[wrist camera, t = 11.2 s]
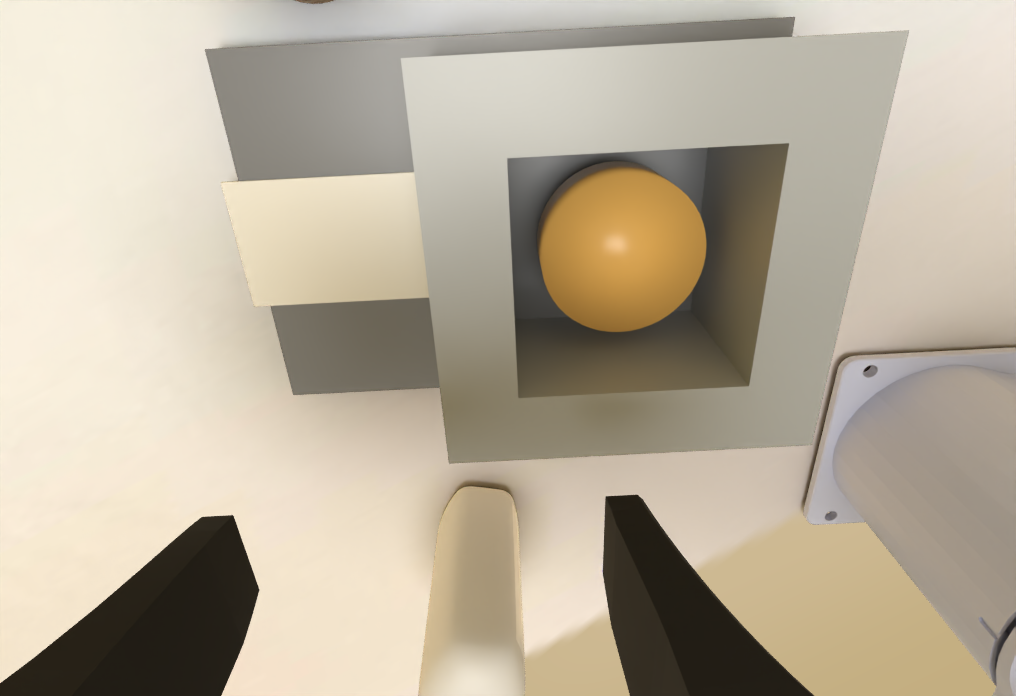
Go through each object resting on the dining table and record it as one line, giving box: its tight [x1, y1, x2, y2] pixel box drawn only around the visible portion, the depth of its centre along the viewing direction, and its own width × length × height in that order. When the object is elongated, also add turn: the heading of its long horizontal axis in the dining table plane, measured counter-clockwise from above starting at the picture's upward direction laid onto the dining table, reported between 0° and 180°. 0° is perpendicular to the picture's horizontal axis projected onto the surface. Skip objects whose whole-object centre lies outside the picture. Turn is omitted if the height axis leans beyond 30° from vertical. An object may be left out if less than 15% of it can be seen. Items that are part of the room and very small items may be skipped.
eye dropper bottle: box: [418, 486, 525, 696], centre depth 20 cm, size 4×6×12 cm
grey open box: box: [205, 17, 909, 464], centre depth 16 cm, size 16×11×6 cm, turn 93°
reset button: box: [537, 161, 706, 332], centre depth 16 cm, size 4×4×2 cm
